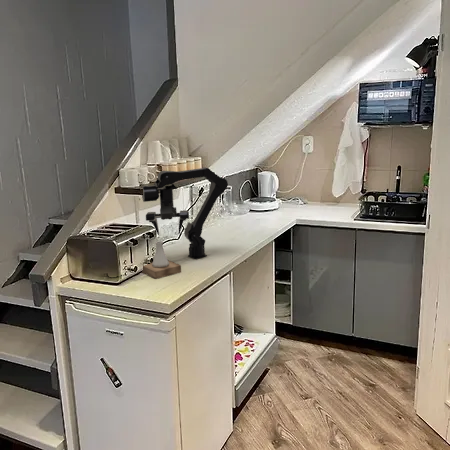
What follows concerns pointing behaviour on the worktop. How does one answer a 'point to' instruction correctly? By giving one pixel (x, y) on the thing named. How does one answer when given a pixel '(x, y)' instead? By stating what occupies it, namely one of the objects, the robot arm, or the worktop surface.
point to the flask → (160, 256)
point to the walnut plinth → (161, 270)
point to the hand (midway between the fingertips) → (168, 234)
